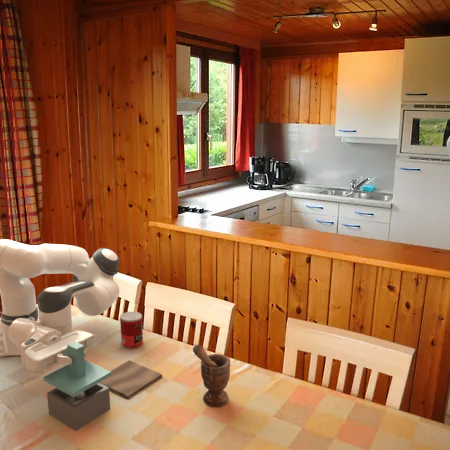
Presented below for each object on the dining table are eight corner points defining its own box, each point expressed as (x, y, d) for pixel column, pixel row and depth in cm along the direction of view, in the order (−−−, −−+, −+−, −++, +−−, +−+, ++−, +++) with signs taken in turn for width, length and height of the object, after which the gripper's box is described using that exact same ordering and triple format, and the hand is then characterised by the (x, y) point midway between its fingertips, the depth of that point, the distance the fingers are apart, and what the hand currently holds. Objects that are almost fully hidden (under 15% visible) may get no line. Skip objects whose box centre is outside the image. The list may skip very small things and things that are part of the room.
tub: (48, 414, 138) (47, 392, 136) (83, 394, 147) (81, 374, 145) (76, 430, 131) (74, 408, 129) (110, 409, 140) (109, 387, 139)
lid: (43, 384, 135) (40, 347, 132) (81, 364, 145) (79, 330, 142) (73, 400, 128) (71, 362, 125) (111, 378, 138) (109, 342, 135)
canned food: (138, 349, 175) (137, 321, 172) (117, 347, 176) (116, 319, 174) (146, 339, 182) (145, 312, 179) (126, 337, 184) (124, 310, 181)
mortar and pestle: (214, 417, 137) (214, 353, 132) (189, 408, 141) (188, 345, 136) (234, 397, 147) (235, 337, 142) (210, 388, 151) (211, 329, 146)
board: (94, 382, 154) (94, 379, 153) (129, 362, 166) (129, 360, 165) (127, 399, 145) (127, 396, 145) (162, 377, 157) (162, 374, 157)
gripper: (77, 340, 151) (107, 353, 143) (17, 368, 135) (47, 384, 127) (76, 321, 149) (106, 333, 142) (15, 347, 133) (45, 362, 125)
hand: (78, 358), depth 134 cm, fingers closed on lid, 2 cm apart
